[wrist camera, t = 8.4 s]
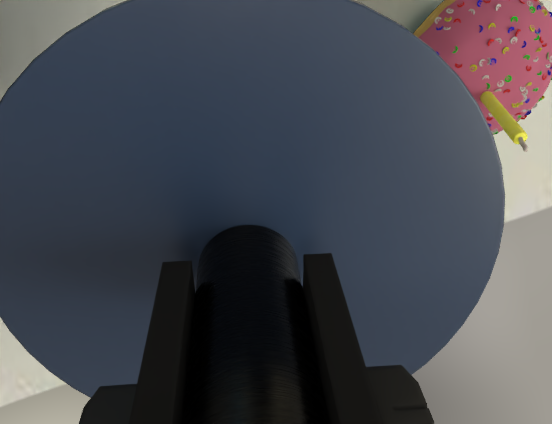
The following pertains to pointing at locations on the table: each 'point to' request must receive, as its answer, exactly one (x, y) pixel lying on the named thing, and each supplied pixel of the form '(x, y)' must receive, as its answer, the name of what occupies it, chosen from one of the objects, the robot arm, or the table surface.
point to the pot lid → (242, 195)
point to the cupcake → (496, 55)
